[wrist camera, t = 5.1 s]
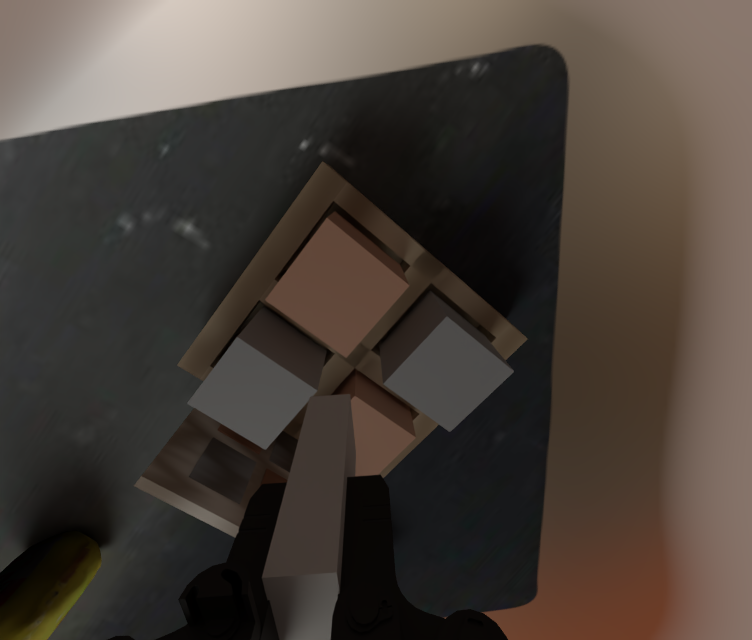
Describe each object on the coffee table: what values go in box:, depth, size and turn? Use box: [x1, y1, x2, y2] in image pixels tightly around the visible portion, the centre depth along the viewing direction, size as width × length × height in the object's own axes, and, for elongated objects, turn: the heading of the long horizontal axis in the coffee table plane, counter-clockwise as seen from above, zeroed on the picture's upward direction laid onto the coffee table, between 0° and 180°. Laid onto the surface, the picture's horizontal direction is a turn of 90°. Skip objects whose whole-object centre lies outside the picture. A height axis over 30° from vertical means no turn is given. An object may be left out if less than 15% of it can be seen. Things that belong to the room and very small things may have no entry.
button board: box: [134, 161, 527, 538], centre depth 27 cm, size 20×22×12 cm
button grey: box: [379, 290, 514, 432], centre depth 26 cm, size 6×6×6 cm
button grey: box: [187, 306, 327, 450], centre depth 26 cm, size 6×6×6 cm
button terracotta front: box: [265, 211, 410, 358], centre depth 24 cm, size 6×6×6 cm
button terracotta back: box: [331, 368, 416, 476], centre depth 30 cm, size 6×6×6 cm
